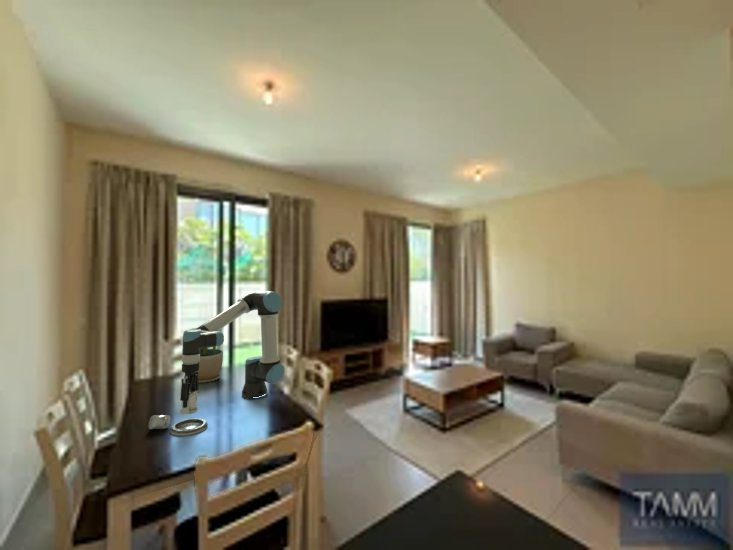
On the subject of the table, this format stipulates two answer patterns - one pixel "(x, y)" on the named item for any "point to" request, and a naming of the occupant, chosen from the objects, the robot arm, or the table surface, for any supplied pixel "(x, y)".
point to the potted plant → (209, 364)
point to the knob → (192, 401)
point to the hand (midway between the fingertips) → (189, 410)
